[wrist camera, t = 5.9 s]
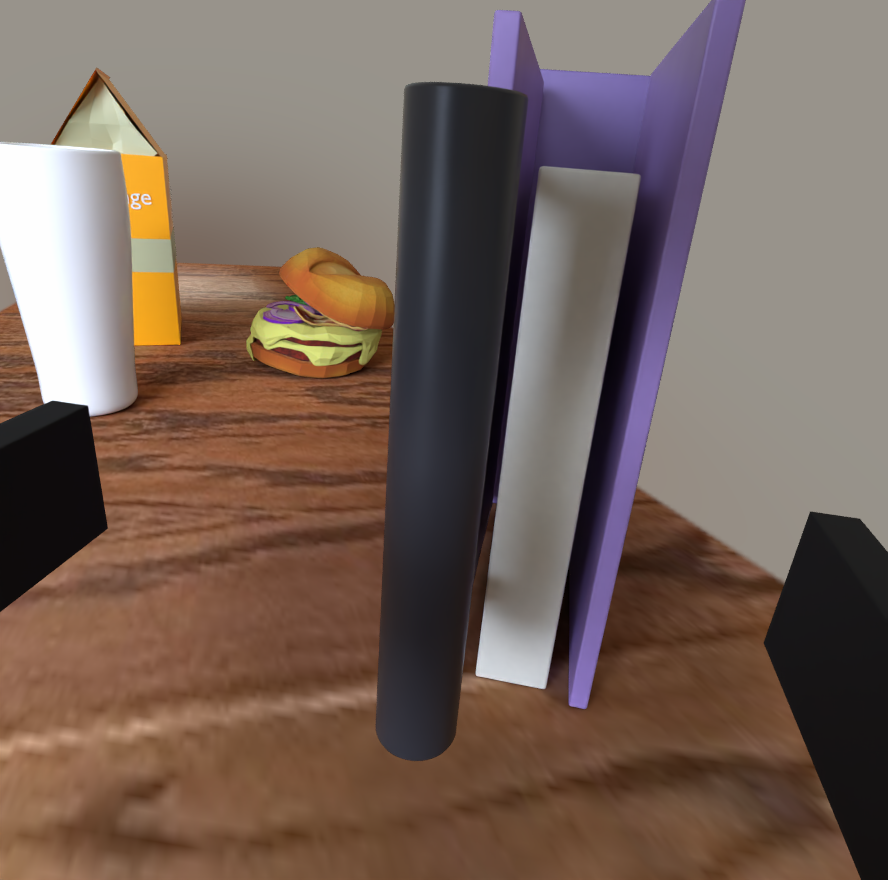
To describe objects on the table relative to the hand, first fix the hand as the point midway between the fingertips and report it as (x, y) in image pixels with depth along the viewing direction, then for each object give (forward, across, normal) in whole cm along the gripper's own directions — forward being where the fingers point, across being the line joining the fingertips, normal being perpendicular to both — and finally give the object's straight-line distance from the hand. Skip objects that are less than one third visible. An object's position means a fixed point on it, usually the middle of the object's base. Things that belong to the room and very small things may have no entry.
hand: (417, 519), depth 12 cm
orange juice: (+40, -34, -10) cm, 53 cm away
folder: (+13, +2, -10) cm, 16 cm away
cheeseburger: (+38, -16, -10) cm, 42 cm away
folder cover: (+9, 0, -9) cm, 13 cm away
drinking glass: (+24, -26, -10) cm, 36 cm away
